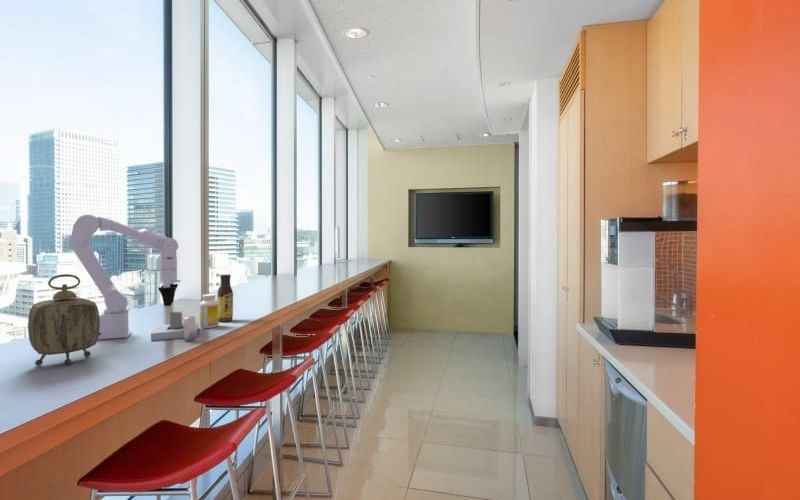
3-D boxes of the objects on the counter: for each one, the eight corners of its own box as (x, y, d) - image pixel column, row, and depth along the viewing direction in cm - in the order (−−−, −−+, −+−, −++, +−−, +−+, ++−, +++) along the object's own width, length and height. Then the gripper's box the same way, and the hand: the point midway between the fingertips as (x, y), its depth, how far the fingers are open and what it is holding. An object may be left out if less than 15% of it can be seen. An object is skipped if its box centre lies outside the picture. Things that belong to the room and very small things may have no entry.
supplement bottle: (221, 325, 162) (221, 293, 161) (212, 328, 155) (212, 296, 155) (206, 324, 162) (206, 293, 162) (196, 328, 156) (196, 295, 155)
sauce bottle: (226, 322, 167) (226, 275, 166) (213, 322, 168) (213, 275, 167) (236, 319, 173) (236, 274, 172) (223, 319, 174) (223, 273, 174)
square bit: (170, 335, 144) (170, 313, 143) (171, 333, 147) (171, 312, 147) (181, 334, 145) (181, 313, 145) (182, 332, 148) (182, 311, 148)
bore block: (150, 340, 137) (150, 333, 137) (156, 332, 149) (156, 325, 149) (196, 336, 143) (196, 329, 143) (198, 328, 155) (197, 322, 155)
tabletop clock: (93, 354, 120) (92, 272, 120) (102, 360, 115) (101, 273, 114) (28, 366, 109) (26, 275, 108) (34, 373, 103) (32, 277, 103)
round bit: (183, 342, 135) (183, 318, 135) (183, 339, 138) (183, 316, 138) (195, 341, 136) (194, 318, 136) (195, 338, 140) (195, 316, 139)
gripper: (178, 270, 147) (179, 306, 148) (181, 267, 161) (182, 300, 161) (156, 270, 144) (157, 307, 145) (161, 267, 158) (161, 302, 158)
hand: (168, 304), depth 153 cm, fingers open, 7 cm apart
